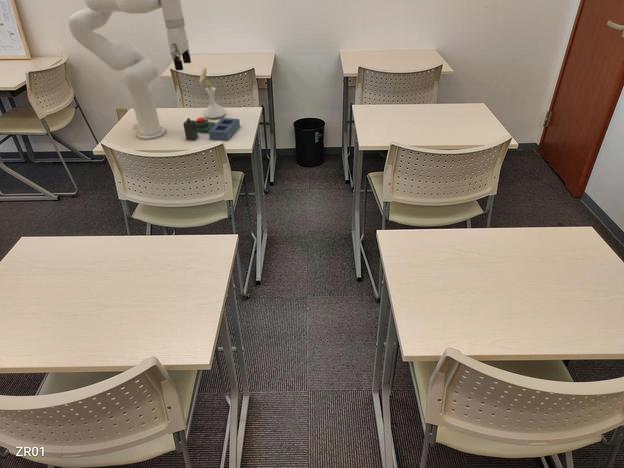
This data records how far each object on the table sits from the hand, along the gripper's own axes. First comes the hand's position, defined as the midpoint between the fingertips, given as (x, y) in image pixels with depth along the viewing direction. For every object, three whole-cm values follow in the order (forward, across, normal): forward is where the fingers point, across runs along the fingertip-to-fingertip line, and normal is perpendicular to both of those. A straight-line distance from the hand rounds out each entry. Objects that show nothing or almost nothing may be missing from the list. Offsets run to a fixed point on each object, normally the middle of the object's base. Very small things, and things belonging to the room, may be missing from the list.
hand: (183, 66), depth 203 cm
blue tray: (+32, -5, +12) cm, 35 cm away
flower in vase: (+32, -24, +1) cm, 41 cm away
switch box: (+32, -10, -1) cm, 34 cm away
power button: (+29, -10, -1) cm, 31 cm away
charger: (+32, +1, -2) cm, 32 cm away
